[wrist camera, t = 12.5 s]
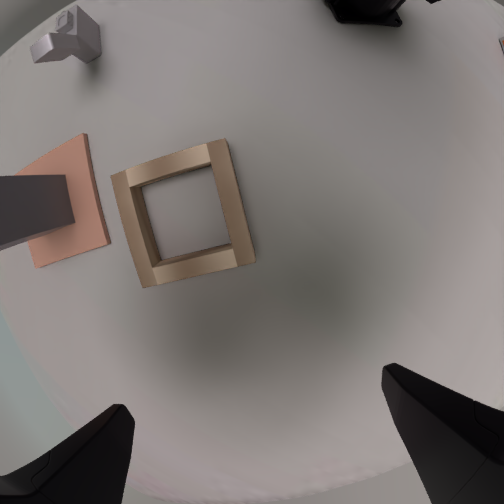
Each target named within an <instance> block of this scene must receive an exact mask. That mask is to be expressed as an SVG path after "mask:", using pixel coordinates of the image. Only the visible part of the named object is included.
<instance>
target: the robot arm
mask: <svg viewBox="0 0 504 504" xmlns="http://www.w3.org/2000/svg"><path fill="white" fill-rule="evenodd" d="M325 1H326V2H327V3H328V4H329V6H330V8H331V10H332V12H333V14H334V16H335V18H336V20H337V21H339V22H341V23H358V24H374V25H385V26H394V27H400V26H401V25H402V21H401V19H400V17H399V15H398V13H397V12H396V10H397V9H398V8H399V7H400V6H401V5H402V4H403V3H404V2H405V1H406V0H325ZM426 1H428V2H429V3H430V4H433V3H435V2H437V1H440V0H426ZM340 16H341V17H343V18H344V19H343V18H341V17H340ZM381 386H382V390H383V393H384V396H385V398H386V401H387V404H388V407H389V410H390V412H391V415H392V418H393V421H394V424H395V426H396V428H397V430H398V432H399V434H400V436H401V438H402V440H403V442H404V444H405V446H406V448H407V451H408V453H409V455H410V457H411V459H412V461H413V463H414V465H415V467H416V469H417V472H418V474H419V476H420V478H421V480H422V482H423V485H424V487H425V489H426V491H427V494H428V496H429V498H430V501H431V503H432V504H504V411H501V410H498V409H495V408H492V407H490V406H487V405H485V404H482V403H480V402H478V401H473V399H471V398H469V397H466V396H464V395H462V394H460V393H458V392H455V391H453V390H451V389H449V388H447V387H445V386H442V385H440V384H438V383H436V382H434V381H432V380H430V379H428V378H426V377H423V376H421V375H419V374H417V373H415V372H413V371H411V370H409V369H407V368H405V367H403V366H401V365H399V364H397V363H391V364H388V365H385V366H384V367H383V370H382V382H381ZM134 428H135V421H134V418H133V417H132V415H131V414H130V412H129V411H128V409H127V408H126V406H125V405H123V404H113V405H112V406H110V407H109V408H108V409H106V410H105V411H104V412H102V413H101V414H100V415H98V416H97V417H96V418H94V419H93V420H91V421H90V422H89V423H87V424H86V425H85V426H83V427H82V428H80V429H79V430H78V431H76V432H75V433H73V434H72V435H71V436H69V437H68V438H67V439H65V440H64V441H62V442H61V443H59V444H58V445H57V446H55V447H54V448H52V449H51V450H49V451H48V452H47V453H45V454H43V455H42V456H40V457H39V458H37V459H36V460H34V461H32V462H30V463H29V464H27V465H25V466H23V467H21V468H19V469H17V470H15V471H14V472H12V473H10V474H7V475H4V476H0V504H121V503H122V498H123V493H124V488H125V483H126V478H127V473H128V469H129V464H130V459H131V453H132V445H133V436H134Z"/></svg>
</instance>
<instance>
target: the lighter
mask: <svg viewBox="0 0 504 504" xmlns="http://www.w3.org/2000/svg"><path fill="white" fill-rule="evenodd" d="M56 31H57V32H58V33H48V34H46V35H45V36H43V37H42V38H41V39H39V40H38V41H37V42H36V43H34V44H33V45H32V46H31V47H30V50H31V54H32V58H33V61H34V63H42V62H50V61H61V60H64V59H65V58H67V57H68V56H70V55H71V54H72V55H74V56H75V57H77V58H78V59H80V60H81V61H83V62H84V63H88V62H90V61H91V60H93V59H95V58H97V57H99V56H100V55H101V53H102V52H101V43H100V32H99V25H98V24H97V23H96V22H95V21H94V20H93V19H92V18H91V17H90V16H89V15H87V14H86V13H85V12H84V11H83V10H82V9H81V8H80V7H79V6H78V5H74V6H73V7H71V8H70V9H68V10H67V11H63V12H62V13H61V14H60V15H59V16H58V17H57V18H56Z"/></svg>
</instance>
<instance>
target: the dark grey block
mask: <svg viewBox="0 0 504 504" xmlns="http://www.w3.org/2000/svg"><path fill="white" fill-rule="evenodd" d="M73 223H76V222H75V218H74V214H73V210H72V206H71V201H70V197H69V192H68V187H67V181H66V176H65V175H16V176H0V251H1V250H3V249H6V248H9V247H12V246H15V245H17V244H20V243H23V242H26V241H29V240H32V239H35V238H38V237H41V236H44V235H47V234H49V233H51V232H54V231H56V230H59V229H61V228H63V227H66V226H68V225H71V224H73Z"/></svg>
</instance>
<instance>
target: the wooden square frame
mask: <svg viewBox="0 0 504 504" xmlns="http://www.w3.org/2000/svg"><path fill="white" fill-rule="evenodd" d="M209 165H212V169H213V173H214V177H215V181H216V185H217V189H218V193H219V197H220V201H221V205H222V209H223V213H224V217H225V221H226V224H227V228H228V232H229V236H230V240H231V243H230V244H226V245H222V246H218V247H214V248H209V249H205V250H201V251H197V252H193V253H189V254H185V255H181V256H177V257H173V258H169V259H165V260H161V259H160V256H159V252H158V249H157V246H156V242H155V239H154V235H153V232H152V228H151V225H150V221H149V218H148V214H147V210H146V206H145V202H144V198H143V194H142V190H141V186H144V185H147V184H150V183H153V182H156V181H159V180H162V179H165V178H169V177H172V176H175V175H178V174H182V173H185V172H188V171H192V170H195V169H199V168H202V167H206V166H209ZM111 180H112V184H113V189H114V193H115V197H116V201H117V205H118V209H119V213H120V217H121V220H122V224H123V228H124V231H125V235H126V238H127V242H128V245H129V248H130V251H131V255H132V258H133V261H134V264H135V267H136V270H137V273H138V276H139V279H140V282H141V285H142V287H143V288H146V287H151V286H155V285H160V284H164V283H168V282H173V281H177V280H182V279H186V278H191V277H195V276H199V275H204V274H208V273H212V272H217V271H221V270H225V269H230V268H234V267H238V266H243V265H247V264H251V263H255V262H256V257H255V251H254V247H253V243H252V239H251V235H250V231H249V227H248V223H247V219H246V215H245V211H244V207H243V203H242V199H241V195H240V191H239V187H238V183H237V178H236V174H235V170H234V166H233V162H232V158H231V154H230V150H229V146H228V143H227V141H226V139H225V138H224V139H220V140H216V141H213V142H209V143H205V144H202V145H198V146H195V147H191V148H188V149H185V150H182V151H178V152H175V153H172V154H169V155H166V156H163V157H160V158H157V159H154V160H151V161H148V162H146V163H143V164H140V165H137V166H135V167H132V168H129V169H127V170H124V171H121V172H119V173H116V174H114V175H111Z"/></svg>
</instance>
